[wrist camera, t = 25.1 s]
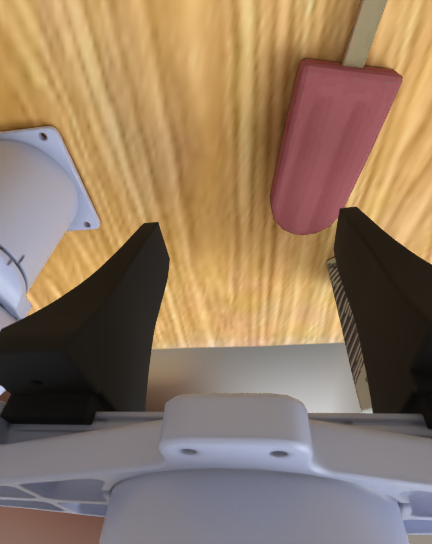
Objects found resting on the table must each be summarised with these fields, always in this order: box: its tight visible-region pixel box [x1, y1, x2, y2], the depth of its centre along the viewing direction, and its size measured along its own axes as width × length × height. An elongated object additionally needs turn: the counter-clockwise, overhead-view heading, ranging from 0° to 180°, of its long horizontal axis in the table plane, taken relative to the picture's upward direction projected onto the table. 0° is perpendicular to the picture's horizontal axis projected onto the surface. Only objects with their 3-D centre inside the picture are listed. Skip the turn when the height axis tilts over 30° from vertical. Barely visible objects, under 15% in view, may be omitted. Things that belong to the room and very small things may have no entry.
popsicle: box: [270, 0, 402, 235], centre depth 19 cm, size 5×2×15 cm
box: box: [327, 258, 373, 413], centre depth 23 cm, size 5×4×13 cm
